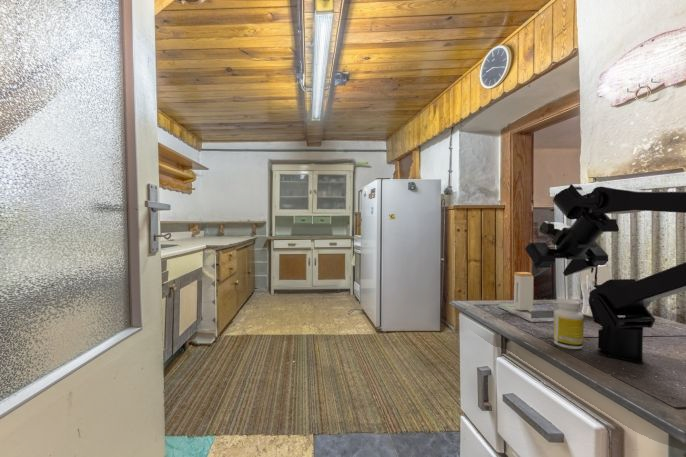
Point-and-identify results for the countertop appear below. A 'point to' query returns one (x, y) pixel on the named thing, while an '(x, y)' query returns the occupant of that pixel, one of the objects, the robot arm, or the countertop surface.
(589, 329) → the countertop surface
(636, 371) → the countertop surface
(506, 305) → the fader rail
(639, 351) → the robot arm
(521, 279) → the white rectangular canister
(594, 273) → the beer glass
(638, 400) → the countertop surface
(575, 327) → the supplement bottle
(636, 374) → the countertop surface
